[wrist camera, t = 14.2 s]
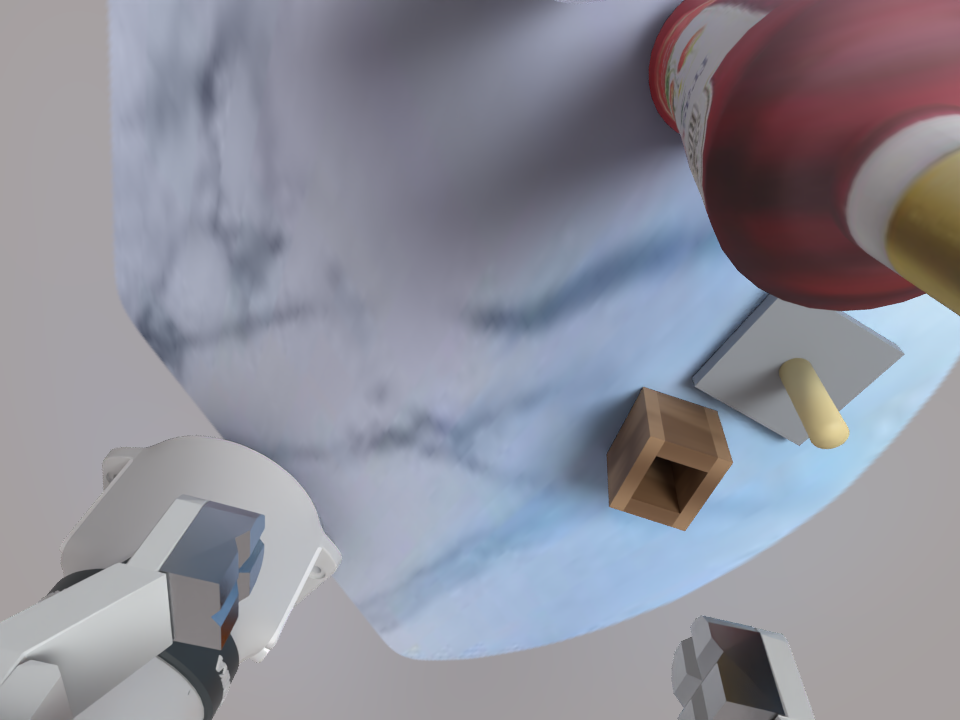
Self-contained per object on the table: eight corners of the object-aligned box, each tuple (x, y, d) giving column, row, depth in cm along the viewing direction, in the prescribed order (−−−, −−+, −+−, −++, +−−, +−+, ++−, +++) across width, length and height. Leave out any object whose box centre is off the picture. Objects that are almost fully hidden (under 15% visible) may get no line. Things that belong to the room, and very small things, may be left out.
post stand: (794, 435, 40) (831, 515, 34) (692, 377, 39) (711, 450, 33) (897, 345, 36) (958, 418, 30) (785, 277, 35) (827, 339, 29)
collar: (675, 476, 43) (685, 531, 39) (606, 454, 43) (609, 506, 39) (717, 411, 40) (732, 462, 36) (643, 386, 40) (650, 436, 35)
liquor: (632, -3, 29) (858, 100, 5) (805, -51, 27) (2341, -222, 3) (650, 156, 32) (833, 647, 9) (804, 123, 31) (1557, 629, 7)
